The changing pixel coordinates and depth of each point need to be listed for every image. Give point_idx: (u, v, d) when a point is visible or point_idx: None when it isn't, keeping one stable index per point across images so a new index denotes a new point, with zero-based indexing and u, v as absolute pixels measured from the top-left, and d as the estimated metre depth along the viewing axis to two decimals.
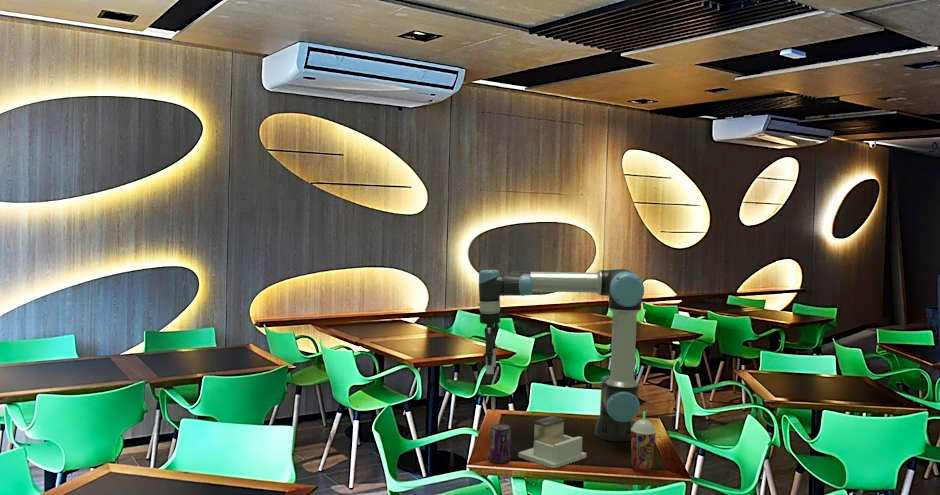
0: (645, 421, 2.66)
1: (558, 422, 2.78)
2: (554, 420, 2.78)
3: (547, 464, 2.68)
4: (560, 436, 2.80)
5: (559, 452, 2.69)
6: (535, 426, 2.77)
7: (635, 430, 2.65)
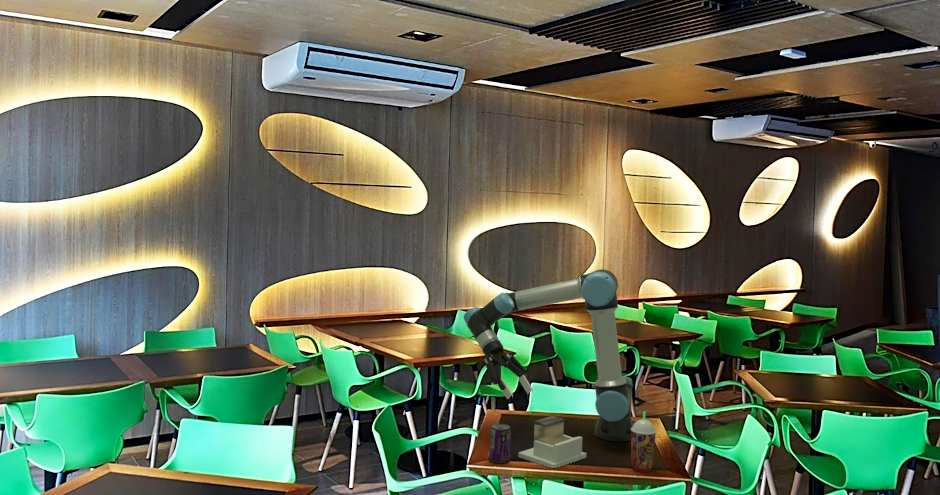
0: (645, 421, 2.66)
1: (558, 422, 2.78)
2: (554, 420, 2.78)
3: (547, 464, 2.68)
4: (560, 436, 2.80)
5: (559, 452, 2.69)
6: (535, 426, 2.77)
7: (635, 430, 2.65)
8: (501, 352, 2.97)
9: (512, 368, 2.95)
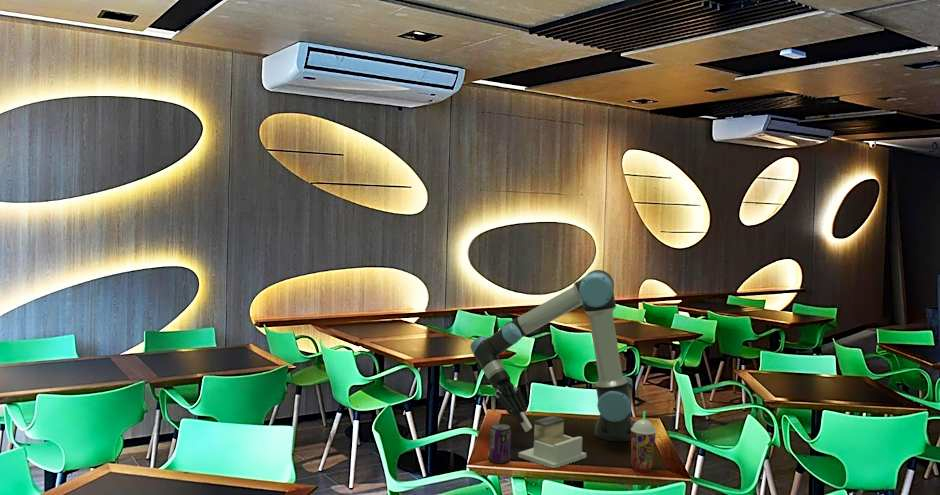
0: (645, 421, 2.66)
1: (558, 422, 2.78)
2: (554, 420, 2.78)
3: (547, 464, 2.68)
4: (560, 436, 2.80)
5: (559, 452, 2.69)
6: (535, 426, 2.77)
7: (635, 430, 2.65)
8: (509, 381, 2.95)
9: (514, 401, 2.91)
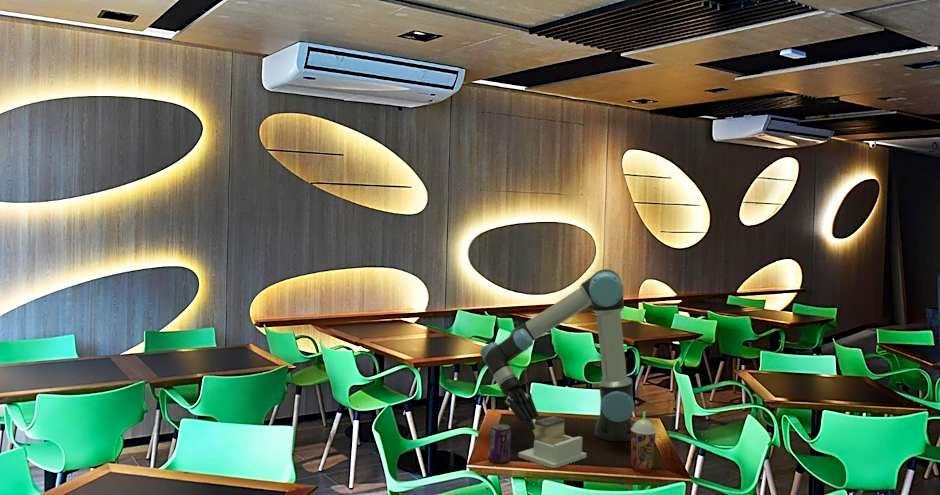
0: (645, 421, 2.66)
1: (559, 422, 2.78)
2: (555, 421, 2.78)
3: (547, 464, 2.68)
4: (561, 436, 2.80)
5: (559, 452, 2.69)
6: (536, 426, 2.77)
7: (635, 430, 2.65)
8: (520, 388, 2.91)
9: (525, 408, 2.87)
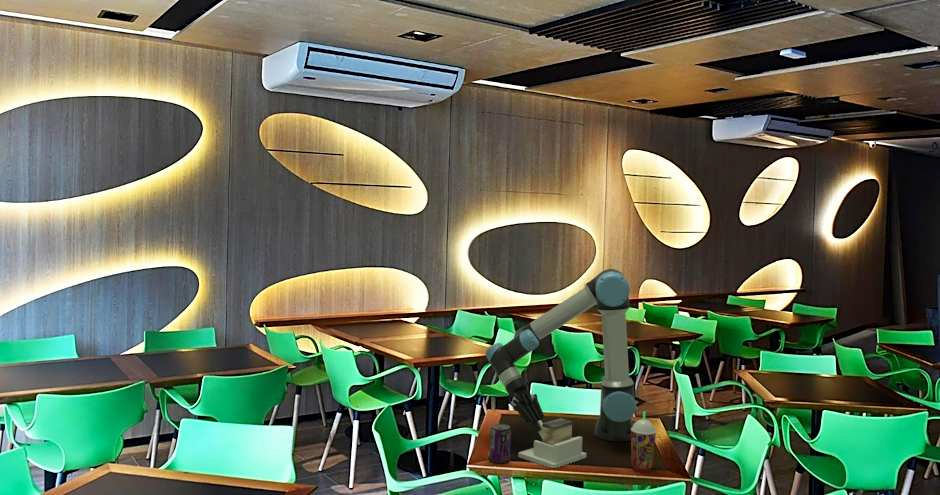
0: (645, 421, 2.66)
1: (566, 424, 2.76)
2: (562, 423, 2.75)
3: (547, 464, 2.68)
4: (568, 439, 2.77)
5: (559, 452, 2.69)
6: (543, 429, 2.74)
7: (635, 430, 2.65)
8: (525, 389, 2.90)
9: (531, 409, 2.85)
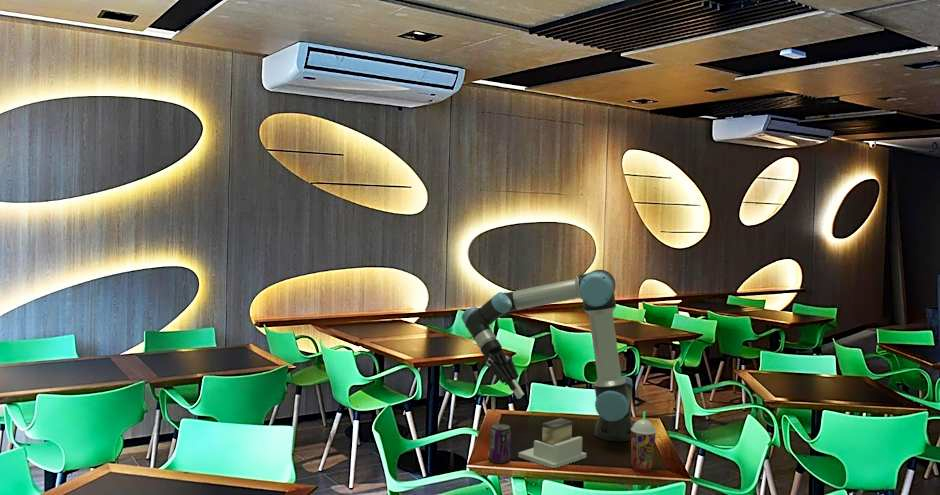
0: (645, 421, 2.66)
1: (566, 424, 2.76)
2: (562, 423, 2.75)
3: (547, 464, 2.68)
4: (568, 439, 2.77)
5: (559, 452, 2.69)
6: (543, 429, 2.74)
7: (635, 430, 2.65)
8: (500, 350, 2.98)
9: (506, 369, 2.93)
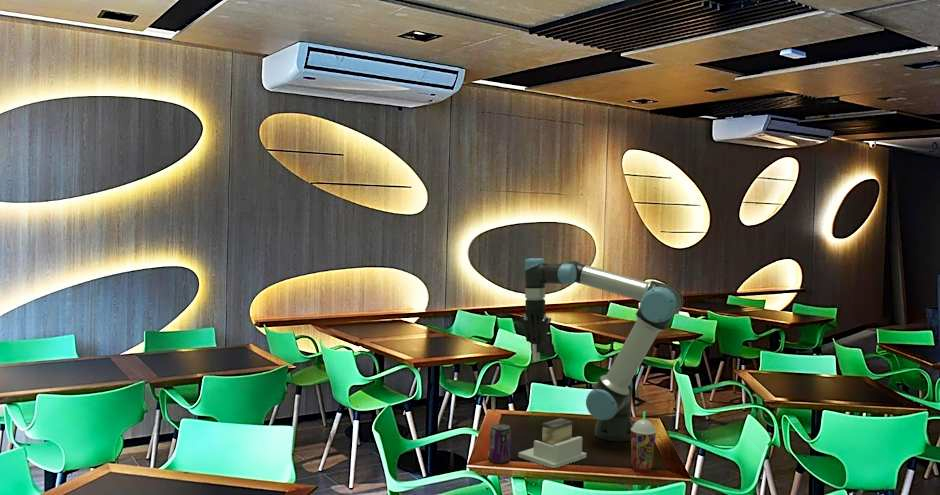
0: (645, 421, 2.66)
1: (566, 424, 2.76)
2: (562, 423, 2.75)
3: (547, 464, 2.68)
4: (568, 439, 2.77)
5: (559, 452, 2.69)
6: (543, 429, 2.74)
7: (635, 430, 2.65)
8: (539, 310, 3.00)
9: None
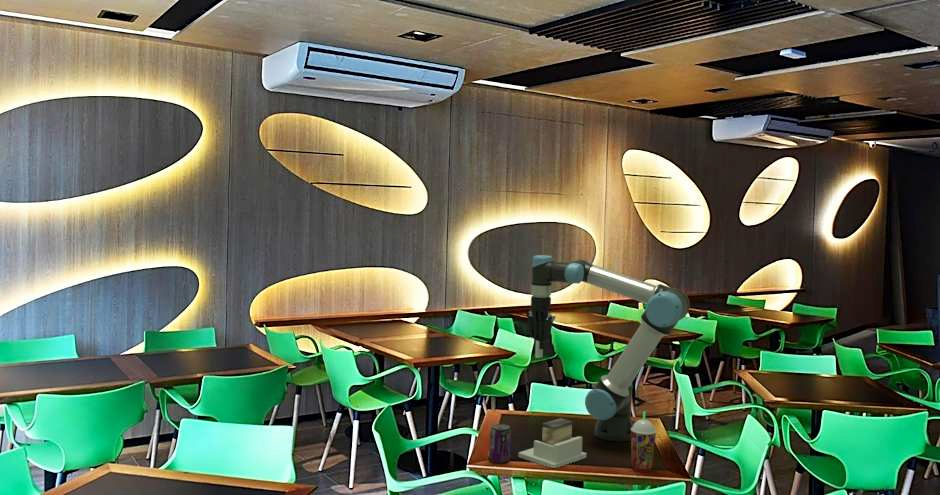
0: (645, 421, 2.66)
1: (566, 424, 2.76)
2: (562, 423, 2.75)
3: (547, 464, 2.68)
4: (568, 439, 2.77)
5: (559, 452, 2.69)
6: (543, 429, 2.74)
7: (635, 430, 2.65)
8: (544, 308, 2.99)
9: None
